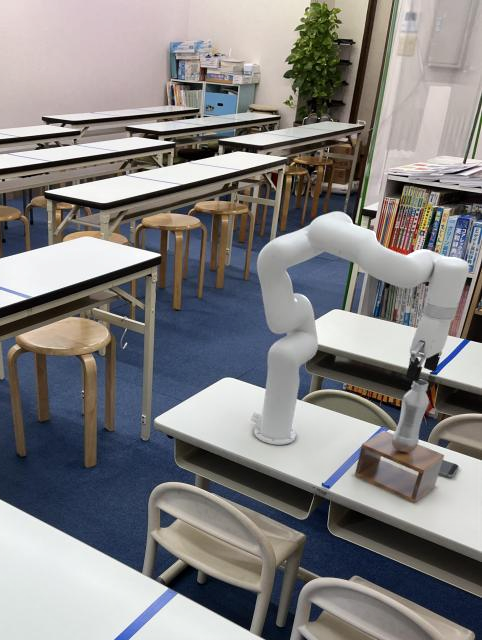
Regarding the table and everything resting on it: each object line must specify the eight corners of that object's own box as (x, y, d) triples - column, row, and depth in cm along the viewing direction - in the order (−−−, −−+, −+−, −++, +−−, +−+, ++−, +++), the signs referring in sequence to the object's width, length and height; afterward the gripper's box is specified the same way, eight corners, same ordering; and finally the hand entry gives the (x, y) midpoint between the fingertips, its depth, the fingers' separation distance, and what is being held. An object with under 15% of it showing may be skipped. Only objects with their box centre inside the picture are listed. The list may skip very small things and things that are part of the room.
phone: (458, 467, 201) (403, 449, 209) (459, 464, 201) (404, 447, 209) (451, 478, 196) (395, 460, 204) (452, 476, 196) (396, 457, 203)
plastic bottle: (417, 456, 185) (436, 389, 175) (391, 453, 187) (408, 385, 176) (414, 445, 191) (432, 378, 180) (388, 441, 192) (405, 375, 181)
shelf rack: (354, 475, 196) (362, 443, 190) (375, 461, 203) (383, 430, 198) (414, 503, 185) (424, 470, 180) (434, 486, 192) (444, 454, 187)
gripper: (440, 299, 176) (422, 361, 185) (408, 313, 166) (390, 378, 175) (469, 307, 172) (449, 370, 181) (438, 322, 161) (418, 388, 170)
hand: (420, 374), depth 178 cm, fingers open, 9 cm apart
